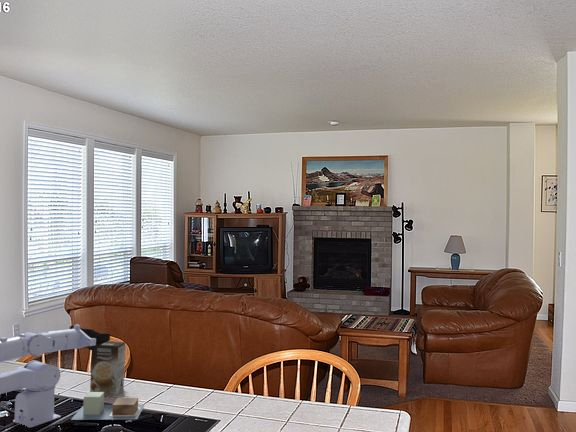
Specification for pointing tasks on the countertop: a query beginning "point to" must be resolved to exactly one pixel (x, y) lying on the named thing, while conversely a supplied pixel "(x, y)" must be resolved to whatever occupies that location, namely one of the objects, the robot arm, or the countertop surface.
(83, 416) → the light blue flat board
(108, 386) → the coffee box
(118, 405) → the walnut block
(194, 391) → the countertop surface
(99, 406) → the sage block
